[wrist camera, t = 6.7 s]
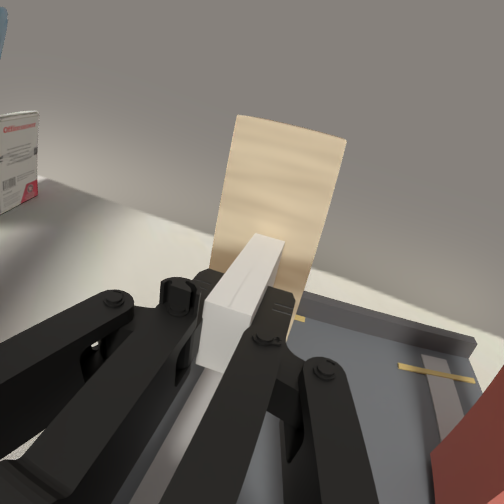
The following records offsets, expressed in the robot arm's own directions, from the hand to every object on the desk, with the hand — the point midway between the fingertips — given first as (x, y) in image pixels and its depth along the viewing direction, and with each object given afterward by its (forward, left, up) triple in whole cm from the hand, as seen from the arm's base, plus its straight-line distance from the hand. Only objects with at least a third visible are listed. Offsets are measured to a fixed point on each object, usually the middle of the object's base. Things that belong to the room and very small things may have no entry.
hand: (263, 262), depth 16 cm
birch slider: (-2, +2, -5) cm, 6 cm away
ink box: (-33, -18, -8) cm, 38 cm away
